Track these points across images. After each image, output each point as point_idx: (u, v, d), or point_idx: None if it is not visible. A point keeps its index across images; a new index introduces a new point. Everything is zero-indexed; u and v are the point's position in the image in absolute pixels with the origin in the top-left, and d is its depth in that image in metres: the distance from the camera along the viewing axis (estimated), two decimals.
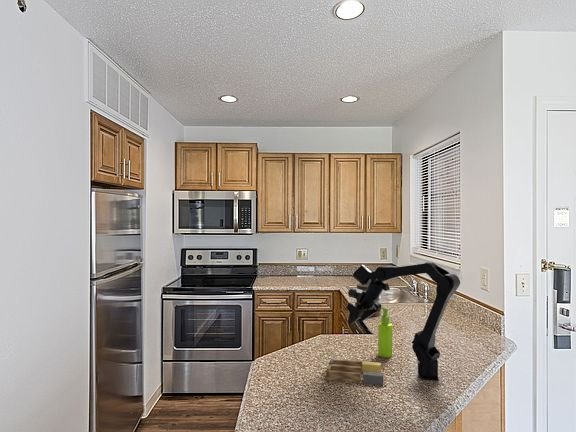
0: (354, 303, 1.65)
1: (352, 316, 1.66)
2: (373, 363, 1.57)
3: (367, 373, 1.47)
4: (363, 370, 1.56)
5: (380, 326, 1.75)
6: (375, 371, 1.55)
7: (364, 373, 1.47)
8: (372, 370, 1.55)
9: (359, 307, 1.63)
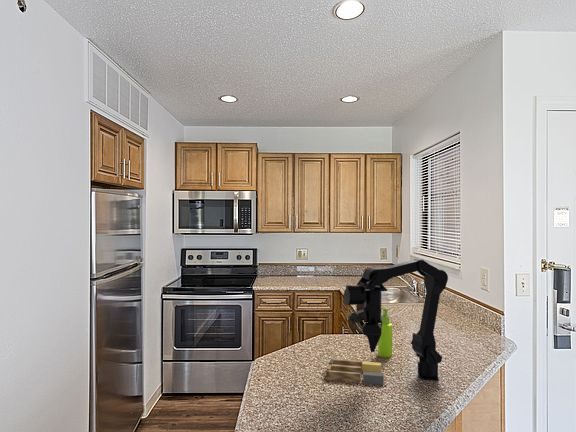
0: (367, 323, 1.40)
1: (372, 339, 1.41)
2: (373, 363, 1.57)
3: (367, 373, 1.46)
4: (363, 370, 1.56)
5: None
6: (375, 371, 1.55)
7: (364, 373, 1.46)
8: (372, 370, 1.55)
9: (375, 324, 1.40)
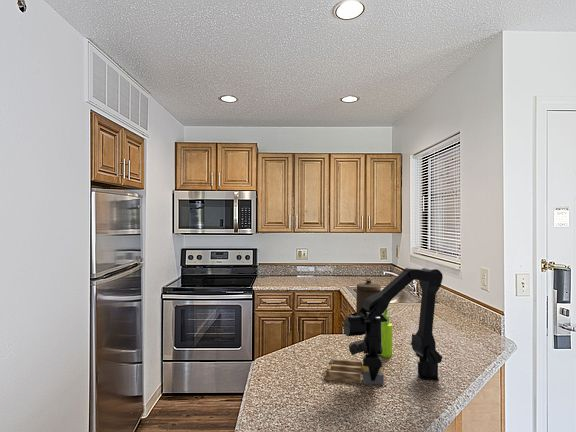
0: (367, 355, 1.40)
1: (372, 368, 1.43)
2: None
3: (367, 373, 1.46)
4: (363, 370, 1.56)
5: None
6: None
7: (364, 373, 1.46)
8: None
9: (375, 356, 1.40)
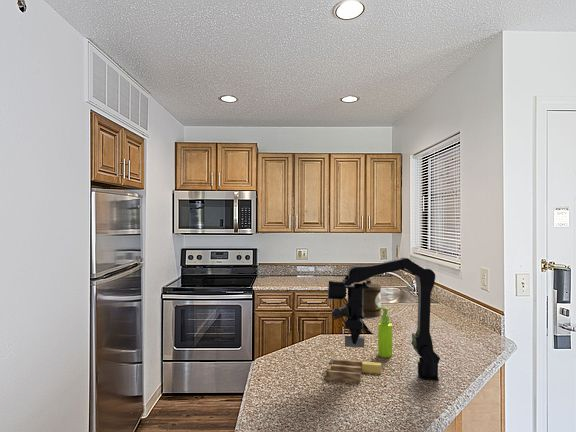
0: (349, 318, 1.47)
1: (354, 332, 1.51)
2: (373, 363, 1.57)
3: (349, 336, 1.53)
4: (363, 370, 1.56)
5: (380, 326, 1.75)
6: (375, 371, 1.55)
7: (346, 337, 1.53)
8: (372, 370, 1.55)
9: (356, 319, 1.47)
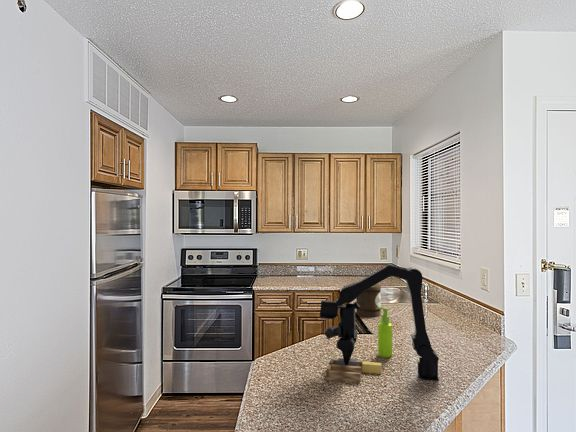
0: (341, 339, 1.51)
1: (346, 353, 1.52)
2: (373, 363, 1.57)
3: (341, 359, 1.57)
4: (363, 370, 1.56)
5: (380, 326, 1.75)
6: (375, 371, 1.55)
7: (339, 359, 1.57)
8: (372, 370, 1.55)
9: (348, 339, 1.50)
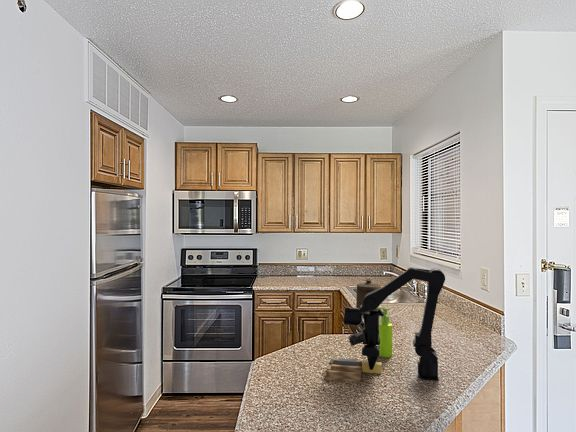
0: (366, 346, 1.51)
1: (371, 358, 1.54)
2: None
3: (341, 359, 1.57)
4: (364, 370, 1.56)
5: (380, 326, 1.75)
6: (376, 370, 1.55)
7: (339, 359, 1.57)
8: (373, 370, 1.55)
9: (373, 346, 1.50)
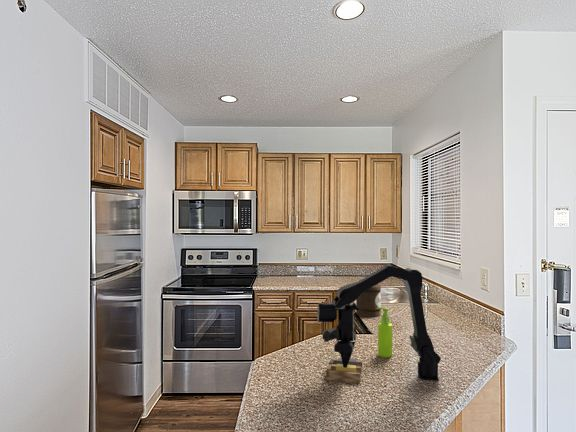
0: (339, 342, 1.44)
1: (344, 355, 1.47)
2: (348, 365, 1.51)
3: (341, 359, 1.57)
4: None
5: (380, 326, 1.75)
6: None
7: (339, 359, 1.57)
8: None
9: (346, 342, 1.44)
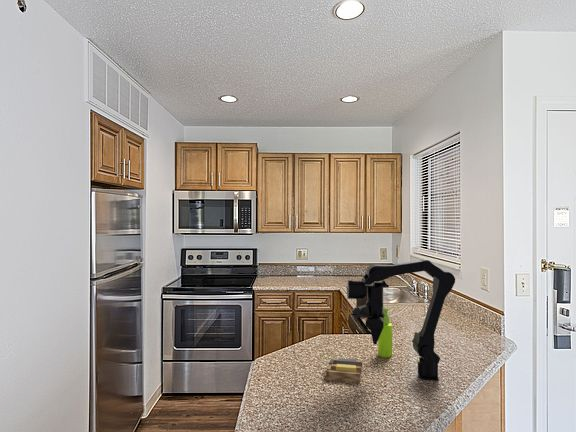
0: (370, 318, 1.46)
1: (374, 332, 1.48)
2: (348, 365, 1.51)
3: (341, 359, 1.57)
4: None
5: None
6: None
7: (339, 359, 1.57)
8: None
9: (377, 318, 1.46)
